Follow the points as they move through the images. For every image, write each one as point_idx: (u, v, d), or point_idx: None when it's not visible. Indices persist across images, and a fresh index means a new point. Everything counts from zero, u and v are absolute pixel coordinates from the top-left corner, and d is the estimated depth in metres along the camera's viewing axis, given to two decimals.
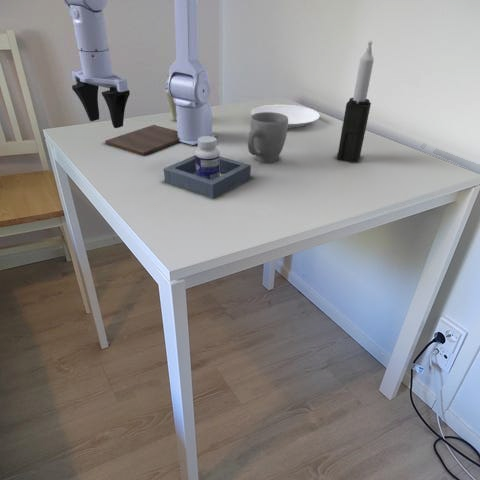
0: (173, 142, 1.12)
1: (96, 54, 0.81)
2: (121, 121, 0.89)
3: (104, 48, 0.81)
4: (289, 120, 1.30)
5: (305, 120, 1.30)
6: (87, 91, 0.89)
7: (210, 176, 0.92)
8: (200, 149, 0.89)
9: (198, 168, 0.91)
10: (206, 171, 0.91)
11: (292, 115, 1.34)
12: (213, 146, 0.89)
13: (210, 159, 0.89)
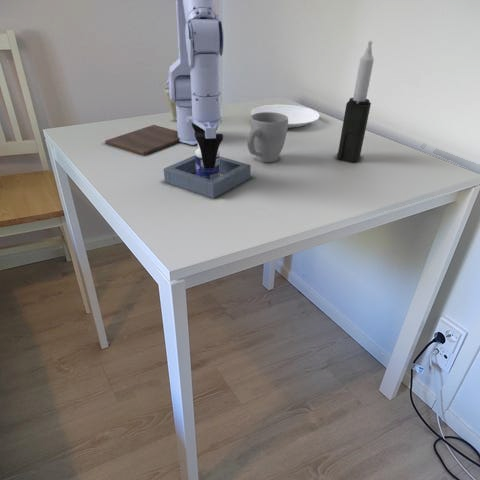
0: (173, 142, 1.12)
1: (199, 98, 0.82)
2: (212, 163, 0.89)
3: None
4: (289, 120, 1.30)
5: (305, 120, 1.30)
6: (202, 131, 0.91)
7: (210, 176, 0.92)
8: None
9: (198, 168, 0.91)
10: (206, 171, 0.91)
11: (292, 115, 1.34)
12: None
13: None
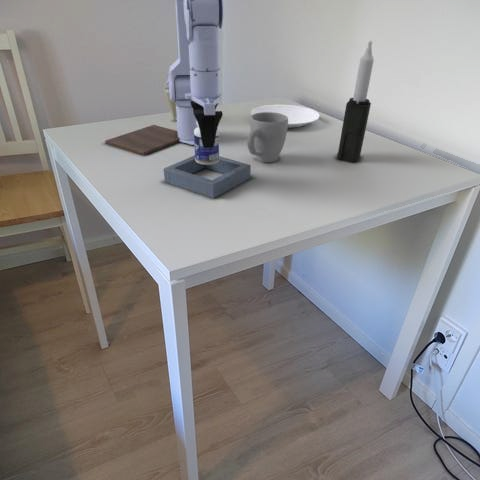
0: (173, 142, 1.12)
1: (198, 74, 0.79)
2: (211, 142, 0.86)
3: None
4: (289, 120, 1.30)
5: (305, 120, 1.30)
6: (201, 109, 0.88)
7: (209, 156, 0.89)
8: None
9: (197, 148, 0.89)
10: (205, 151, 0.88)
11: (292, 115, 1.34)
12: None
13: None
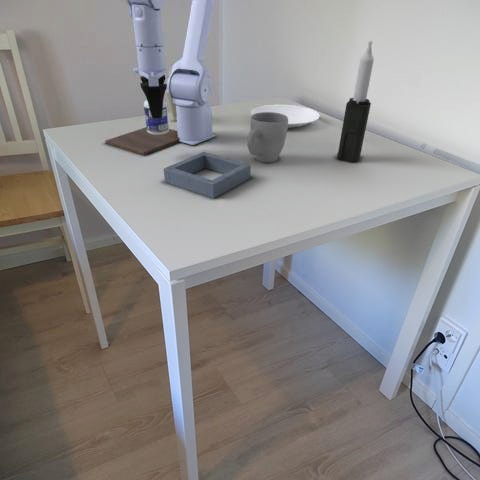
0: (173, 142, 1.12)
1: (143, 49, 0.88)
2: (159, 113, 0.96)
3: (161, 43, 0.89)
4: (289, 120, 1.30)
5: (305, 120, 1.30)
6: None
7: (158, 126, 0.98)
8: None
9: (147, 119, 0.98)
10: (154, 122, 0.97)
11: (292, 115, 1.34)
12: None
13: None
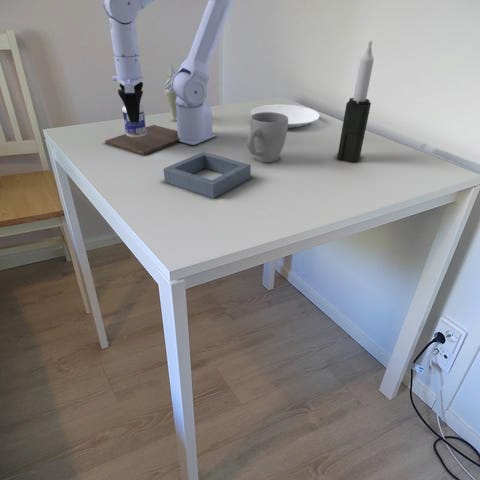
0: (173, 142, 1.12)
1: (120, 59, 0.96)
2: (136, 117, 1.03)
3: (131, 54, 0.95)
4: (289, 120, 1.30)
5: (305, 120, 1.30)
6: None
7: (135, 129, 1.05)
8: None
9: (125, 123, 1.05)
10: (132, 125, 1.05)
11: (292, 115, 1.34)
12: None
13: None
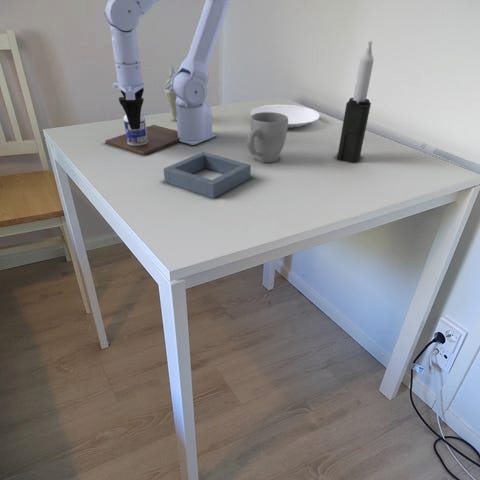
0: (173, 142, 1.12)
1: (121, 66, 0.96)
2: (137, 124, 1.03)
3: (132, 62, 0.96)
4: (289, 120, 1.30)
5: (305, 120, 1.30)
6: None
7: (137, 138, 1.07)
8: None
9: (127, 132, 1.07)
10: (133, 134, 1.06)
11: (292, 115, 1.34)
12: None
13: None
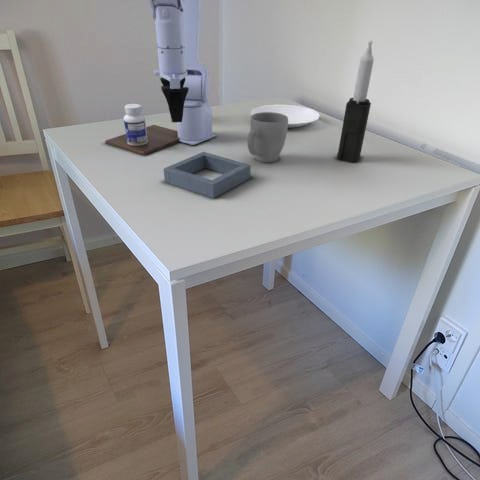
0: (173, 142, 1.12)
1: (164, 51, 0.86)
2: (179, 117, 0.93)
3: (184, 44, 0.88)
4: (289, 120, 1.30)
5: (305, 120, 1.30)
6: (170, 85, 0.96)
7: (137, 138, 1.07)
8: (127, 114, 1.05)
9: (127, 132, 1.07)
10: (133, 134, 1.06)
11: (292, 115, 1.34)
12: (138, 112, 1.04)
13: (135, 123, 1.05)
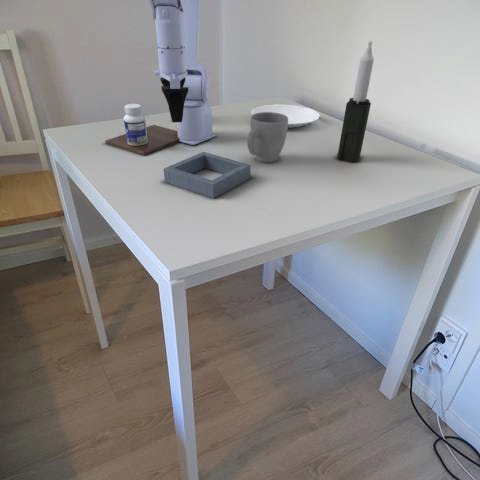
0: (173, 142, 1.12)
1: (164, 51, 0.86)
2: (179, 117, 0.93)
3: (184, 44, 0.88)
4: (289, 120, 1.30)
5: (305, 120, 1.30)
6: (170, 85, 0.96)
7: (137, 138, 1.07)
8: (127, 114, 1.05)
9: (127, 132, 1.07)
10: (133, 134, 1.06)
11: (292, 115, 1.34)
12: (138, 112, 1.04)
13: (135, 123, 1.05)
